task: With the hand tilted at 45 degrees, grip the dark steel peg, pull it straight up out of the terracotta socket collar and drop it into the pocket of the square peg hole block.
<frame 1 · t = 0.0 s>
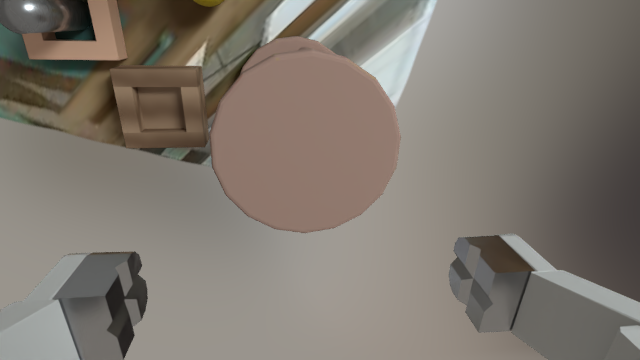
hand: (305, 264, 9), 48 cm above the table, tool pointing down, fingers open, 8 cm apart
steel peg: (49, 13, 42), in the socket collar
hourglass: (294, 97, 55), on the table
socket collar: (75, 13, 47), on the table
square peg hole block: (167, 104, 53), on the table
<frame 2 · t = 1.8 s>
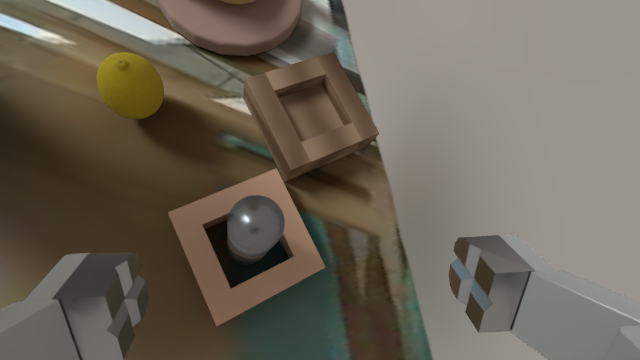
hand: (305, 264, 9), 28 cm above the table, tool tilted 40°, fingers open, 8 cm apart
lemon: (141, 108, 38), on the table
steel peg: (251, 235, 31), in the socket collar
socket collar: (247, 244, 36), on the table
square peg hole block: (306, 123, 42), on the table
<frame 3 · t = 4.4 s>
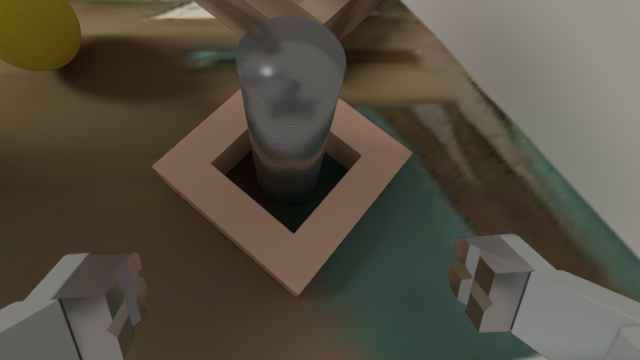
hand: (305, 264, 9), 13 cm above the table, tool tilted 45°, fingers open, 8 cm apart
lemon: (62, 63, 26), on the table
steel peg: (289, 136, 19), in the socket collar
socket collar: (287, 177, 24), on the table
square peg hole block: (291, 2, 30), on the table
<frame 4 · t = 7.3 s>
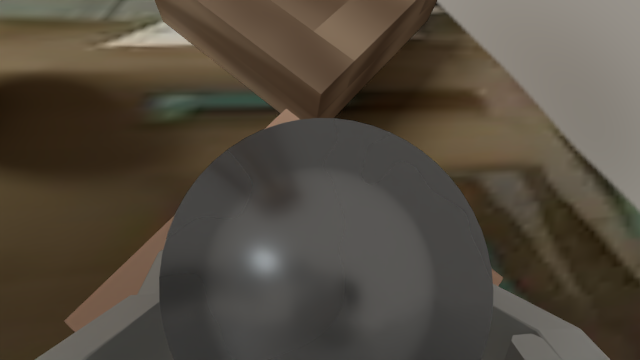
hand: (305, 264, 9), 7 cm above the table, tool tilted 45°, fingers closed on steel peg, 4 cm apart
steel peg: (305, 292, 10), in the socket collar, touching gripper
socket collar: (297, 300, 15), on the table
square peg hole block: (301, 21, 21), on the table
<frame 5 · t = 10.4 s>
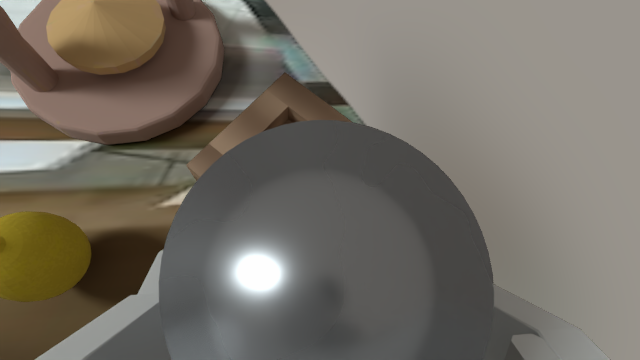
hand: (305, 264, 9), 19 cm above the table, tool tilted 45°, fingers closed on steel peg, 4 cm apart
lemon: (72, 264, 27), on the table
steel peg: (304, 293, 10), point 18 cm above the table, touching gripper
hourglass: (129, 62, 33), on the table
square peg hole block: (292, 177, 31), on the table
when the fingers open (10 cm above the table, at t = 13.9 s): steel peg drops 1 cm, resting on square peg hole block.
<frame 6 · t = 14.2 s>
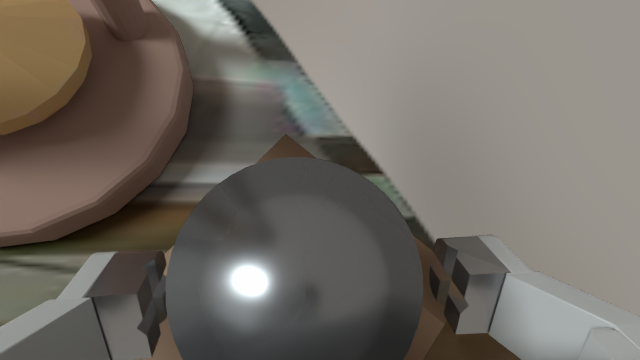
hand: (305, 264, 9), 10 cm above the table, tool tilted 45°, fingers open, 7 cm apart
steel peg: (295, 294, 11), in the square peg hole block, point 8 cm above the table
hourglass: (45, 104, 22), on the table
square peg hole block: (294, 302, 19), on the table
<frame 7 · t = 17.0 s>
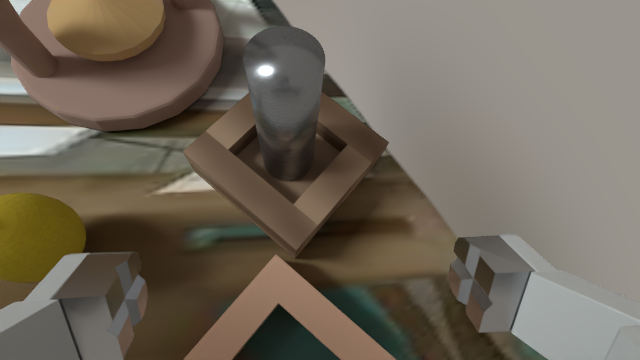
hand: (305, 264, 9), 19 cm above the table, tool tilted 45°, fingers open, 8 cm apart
lemon: (67, 249, 27), on the table
steel peg: (286, 120, 23), in the square peg hole block, point 8 cm above the table
hourglass: (129, 51, 34), on the table
square peg hole block: (288, 167, 31), on the table
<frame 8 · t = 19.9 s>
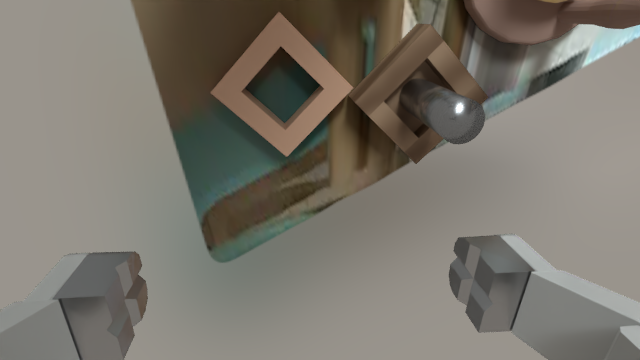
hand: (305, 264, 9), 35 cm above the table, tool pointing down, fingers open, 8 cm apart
steel peg: (435, 106, 36), in the square peg hole block, point 8 cm above the table
socket collar: (282, 85, 42), on the table
square peg hole block: (410, 93, 44), on the table
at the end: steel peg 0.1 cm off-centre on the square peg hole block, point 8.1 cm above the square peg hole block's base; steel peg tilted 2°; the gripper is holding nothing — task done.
